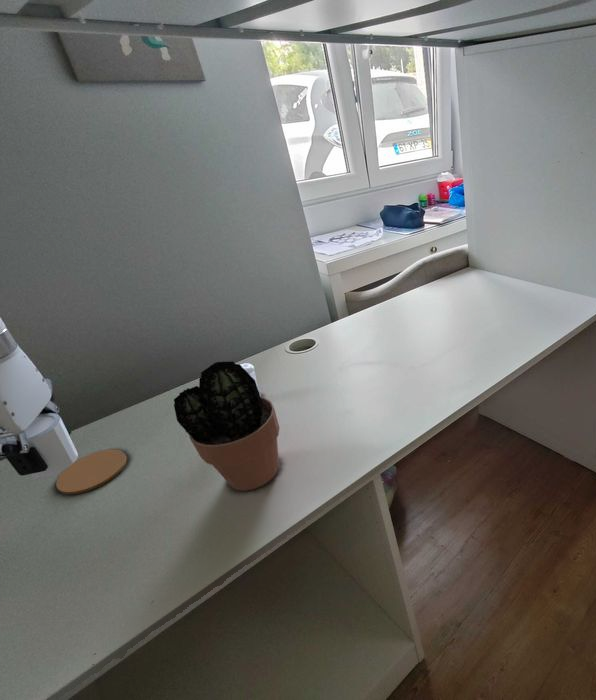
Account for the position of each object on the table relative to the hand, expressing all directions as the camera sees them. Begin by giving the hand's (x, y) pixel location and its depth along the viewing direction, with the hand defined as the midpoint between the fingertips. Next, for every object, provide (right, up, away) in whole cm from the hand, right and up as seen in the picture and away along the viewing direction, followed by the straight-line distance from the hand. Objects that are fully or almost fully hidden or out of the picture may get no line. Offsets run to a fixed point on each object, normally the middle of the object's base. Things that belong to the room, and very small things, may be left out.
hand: (47, 452), depth 65 cm
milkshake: (+12, +3, +38) cm, 40 cm away
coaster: (-10, -8, +20) cm, 24 cm away
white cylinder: (0, -2, +1) cm, 2 cm away
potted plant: (+22, -8, +18) cm, 30 cm away
